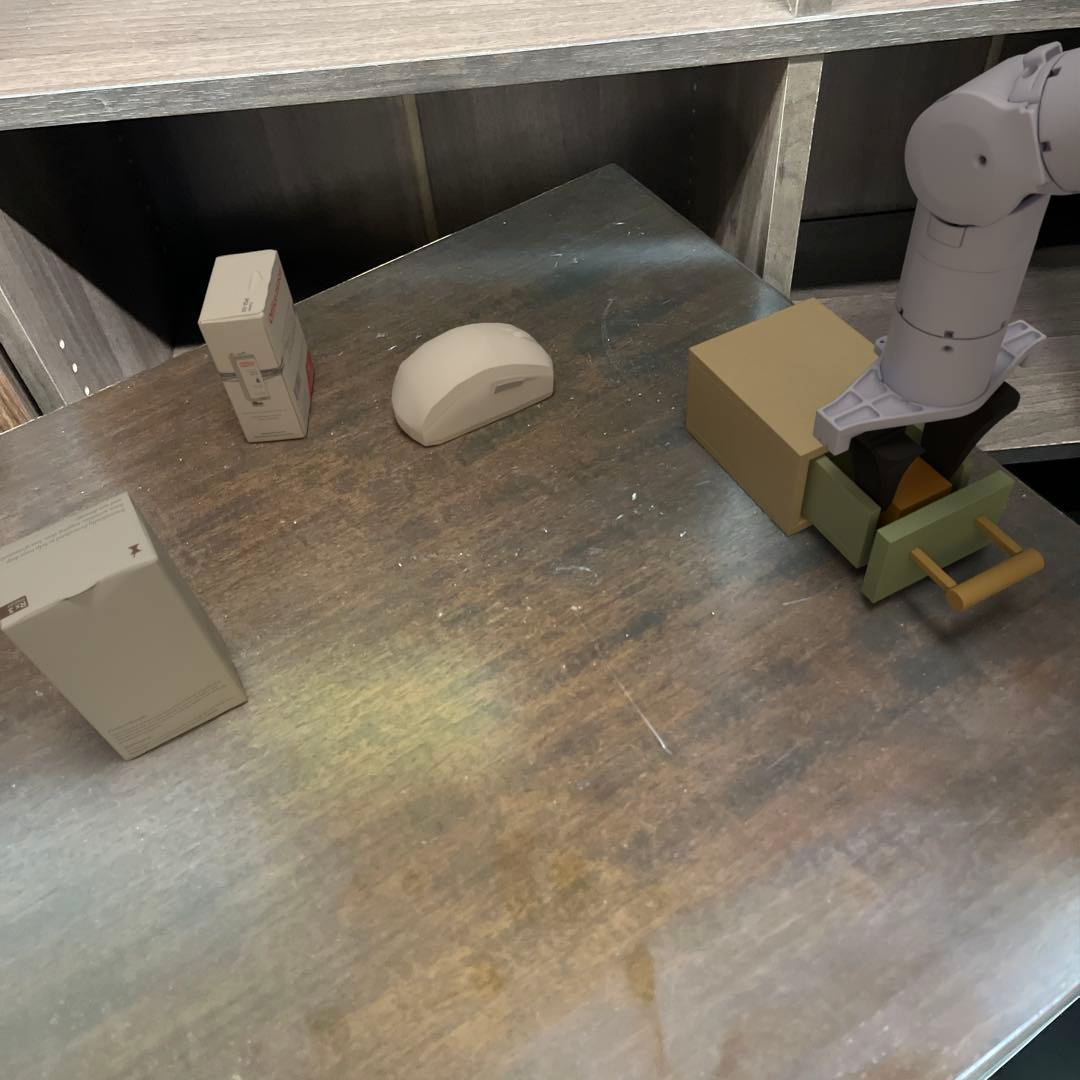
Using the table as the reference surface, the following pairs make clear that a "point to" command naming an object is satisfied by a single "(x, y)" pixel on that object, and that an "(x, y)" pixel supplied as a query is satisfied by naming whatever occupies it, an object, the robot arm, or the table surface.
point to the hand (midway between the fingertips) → (902, 487)
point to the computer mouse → (469, 381)
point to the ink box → (258, 345)
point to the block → (915, 492)
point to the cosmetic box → (116, 627)
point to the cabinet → (772, 400)
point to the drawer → (917, 530)
